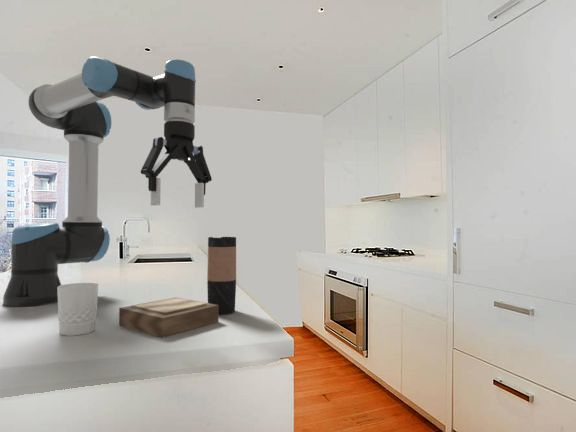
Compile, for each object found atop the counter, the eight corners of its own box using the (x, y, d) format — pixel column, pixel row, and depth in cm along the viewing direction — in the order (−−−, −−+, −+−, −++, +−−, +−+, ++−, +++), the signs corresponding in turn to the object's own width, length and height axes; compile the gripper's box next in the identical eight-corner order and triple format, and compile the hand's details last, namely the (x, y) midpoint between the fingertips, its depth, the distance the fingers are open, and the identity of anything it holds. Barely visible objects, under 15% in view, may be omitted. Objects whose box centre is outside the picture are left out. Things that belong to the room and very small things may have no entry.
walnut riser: (119, 325, 89) (119, 305, 89) (175, 312, 102) (175, 295, 102) (162, 337, 80) (162, 315, 80) (218, 321, 93) (218, 303, 93)
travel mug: (230, 315, 99) (230, 237, 99) (202, 314, 100) (203, 237, 101) (239, 309, 106) (240, 236, 107) (213, 307, 108) (214, 236, 108)
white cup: (69, 339, 78) (69, 289, 78) (48, 333, 82) (49, 286, 83) (105, 330, 85) (105, 284, 85) (84, 325, 89) (85, 281, 89)
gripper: (144, 108, 86) (143, 203, 86) (225, 131, 106) (224, 207, 106) (126, 114, 90) (124, 204, 90) (206, 134, 111) (205, 208, 110)
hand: (178, 206), depth 98 cm, fingers open, 13 cm apart
